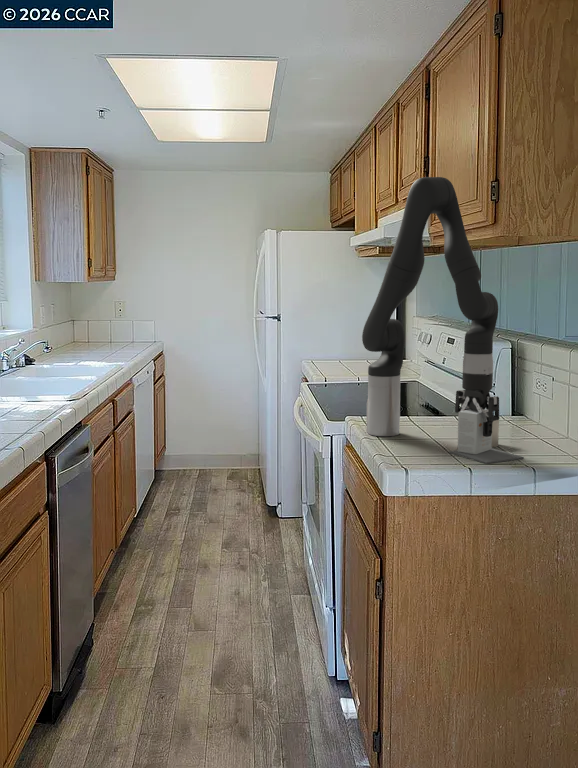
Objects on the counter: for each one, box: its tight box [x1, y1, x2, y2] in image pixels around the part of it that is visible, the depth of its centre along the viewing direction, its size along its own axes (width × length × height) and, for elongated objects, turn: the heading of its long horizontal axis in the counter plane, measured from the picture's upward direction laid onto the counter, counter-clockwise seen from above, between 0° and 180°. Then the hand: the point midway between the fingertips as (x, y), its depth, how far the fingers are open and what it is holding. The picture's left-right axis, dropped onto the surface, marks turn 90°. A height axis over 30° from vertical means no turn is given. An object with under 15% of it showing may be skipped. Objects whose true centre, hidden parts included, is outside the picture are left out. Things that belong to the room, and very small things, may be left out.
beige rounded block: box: [491, 419, 500, 448], centre depth 210 cm, size 6×6×7 cm
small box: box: [457, 408, 492, 454], centre depth 200 cm, size 8×6×10 cm
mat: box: [449, 447, 524, 465], centre depth 197 cm, size 14×12×1 cm
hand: (475, 433), depth 200 cm, fingers open, 8 cm apart
